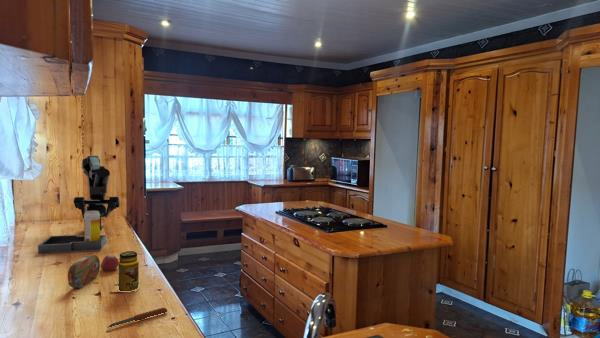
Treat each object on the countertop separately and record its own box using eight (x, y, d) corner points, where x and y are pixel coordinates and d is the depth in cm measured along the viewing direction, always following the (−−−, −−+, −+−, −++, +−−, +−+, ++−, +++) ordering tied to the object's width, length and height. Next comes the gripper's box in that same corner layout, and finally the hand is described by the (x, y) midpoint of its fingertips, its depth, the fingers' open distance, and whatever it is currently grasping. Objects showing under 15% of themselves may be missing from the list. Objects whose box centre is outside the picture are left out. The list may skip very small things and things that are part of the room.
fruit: (115, 276, 142) (126, 257, 143) (99, 271, 139) (112, 251, 140) (113, 271, 147) (124, 252, 148) (98, 266, 144) (110, 246, 145)
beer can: (102, 243, 173) (102, 210, 172) (95, 247, 167) (94, 213, 166) (89, 242, 174) (89, 210, 172) (81, 246, 168) (80, 212, 166)
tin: (75, 292, 123) (75, 266, 122) (65, 291, 123) (65, 266, 122) (100, 275, 138) (100, 252, 137) (92, 274, 138) (91, 251, 137)
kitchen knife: (165, 312, 111) (165, 306, 111) (167, 314, 110) (167, 307, 110) (107, 329, 101) (106, 322, 101) (108, 331, 100) (108, 324, 100)
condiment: (137, 292, 124) (137, 256, 123) (109, 293, 122) (108, 257, 121) (141, 283, 131) (141, 249, 130) (114, 285, 129) (114, 250, 128)
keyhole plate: (50, 243, 172) (50, 236, 172) (106, 241, 179) (106, 233, 179) (38, 254, 158) (37, 245, 158) (100, 250, 165) (100, 242, 164)
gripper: (74, 179, 175) (67, 208, 166) (118, 179, 181) (114, 207, 171) (78, 193, 184) (72, 221, 174) (121, 193, 189) (117, 220, 179)
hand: (94, 217), depth 175 cm, fingers open, 9 cm apart
